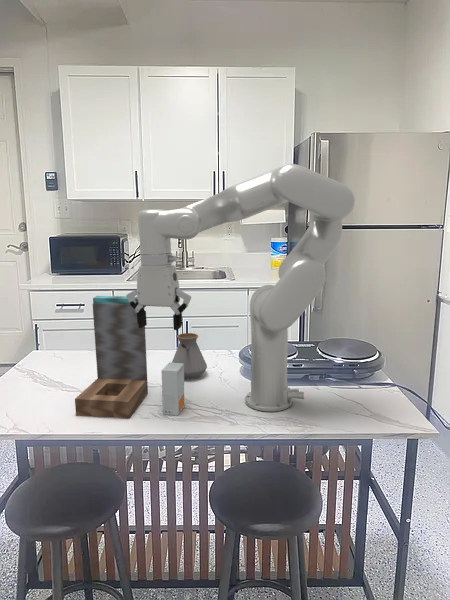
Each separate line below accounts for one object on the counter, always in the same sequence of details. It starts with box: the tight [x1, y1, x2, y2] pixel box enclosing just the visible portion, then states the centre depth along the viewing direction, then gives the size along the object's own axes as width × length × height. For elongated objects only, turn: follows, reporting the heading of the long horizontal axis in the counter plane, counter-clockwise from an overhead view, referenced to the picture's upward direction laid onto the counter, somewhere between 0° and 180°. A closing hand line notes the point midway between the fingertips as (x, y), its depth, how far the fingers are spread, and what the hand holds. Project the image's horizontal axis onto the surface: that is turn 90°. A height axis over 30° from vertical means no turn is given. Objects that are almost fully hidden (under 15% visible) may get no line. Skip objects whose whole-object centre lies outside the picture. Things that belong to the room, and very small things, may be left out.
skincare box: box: [161, 362, 186, 417], centre depth 116 cm, size 6×4×12 cm
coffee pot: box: [171, 332, 208, 381], centre depth 135 cm, size 21×12×15 cm, turn 179°
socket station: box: [74, 295, 149, 419], centre depth 119 cm, size 14×18×28 cm
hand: (159, 327), depth 114 cm, fingers open, 9 cm apart
